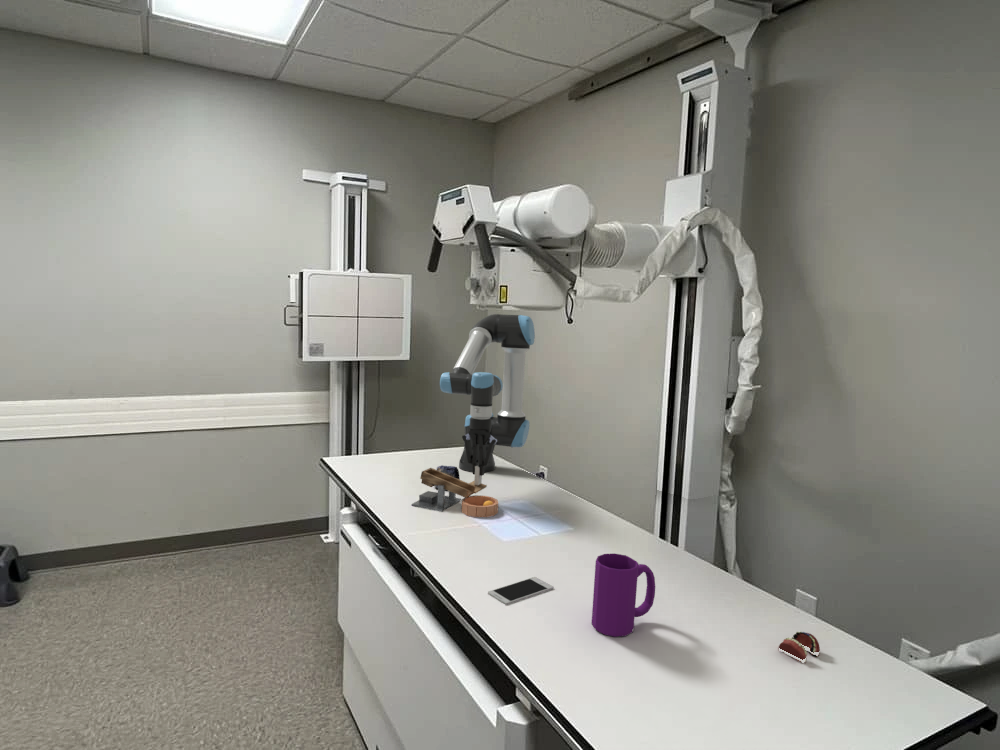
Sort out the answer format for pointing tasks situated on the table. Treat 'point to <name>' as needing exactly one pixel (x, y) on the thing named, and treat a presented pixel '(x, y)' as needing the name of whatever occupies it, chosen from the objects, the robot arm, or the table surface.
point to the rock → (449, 471)
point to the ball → (487, 503)
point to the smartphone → (520, 590)
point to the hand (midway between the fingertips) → (477, 483)
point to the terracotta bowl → (479, 506)
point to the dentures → (795, 643)
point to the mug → (619, 594)
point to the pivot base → (437, 500)
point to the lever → (450, 483)
